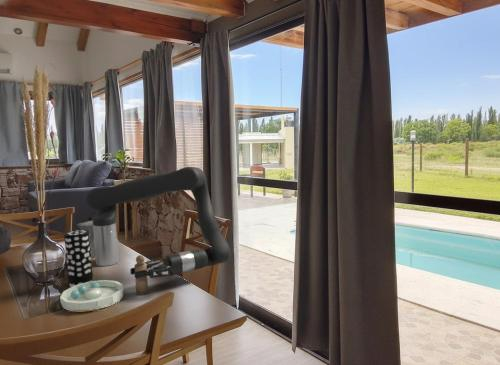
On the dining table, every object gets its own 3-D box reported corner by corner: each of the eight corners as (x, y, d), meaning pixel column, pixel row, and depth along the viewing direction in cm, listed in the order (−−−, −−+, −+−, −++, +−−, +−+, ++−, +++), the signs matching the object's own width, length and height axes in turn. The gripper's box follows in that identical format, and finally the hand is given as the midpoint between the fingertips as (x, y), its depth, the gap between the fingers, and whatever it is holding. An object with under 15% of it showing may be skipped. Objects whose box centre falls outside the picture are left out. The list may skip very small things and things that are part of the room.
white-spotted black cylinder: (69, 283, 147) (65, 231, 145) (93, 280, 150) (89, 228, 148) (68, 291, 139) (63, 236, 137) (93, 287, 142) (88, 233, 140)
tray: (88, 286, 143) (87, 276, 143) (134, 291, 138) (133, 280, 137) (48, 309, 125) (47, 297, 125) (99, 315, 120) (98, 302, 119)
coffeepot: (74, 258, 178) (71, 219, 176) (84, 252, 188) (80, 215, 186) (107, 257, 178) (104, 218, 176) (115, 251, 187) (113, 214, 185)
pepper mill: (140, 290, 139) (137, 253, 137) (150, 290, 138) (148, 254, 136) (134, 294, 135) (131, 256, 134) (144, 295, 134) (141, 257, 132)
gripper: (171, 248, 149) (125, 257, 139) (187, 257, 137) (138, 268, 128) (172, 268, 150) (127, 278, 140) (188, 278, 138) (140, 290, 129)
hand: (133, 273), depth 134 cm, fingers closed on pepper mill, 4 cm apart
